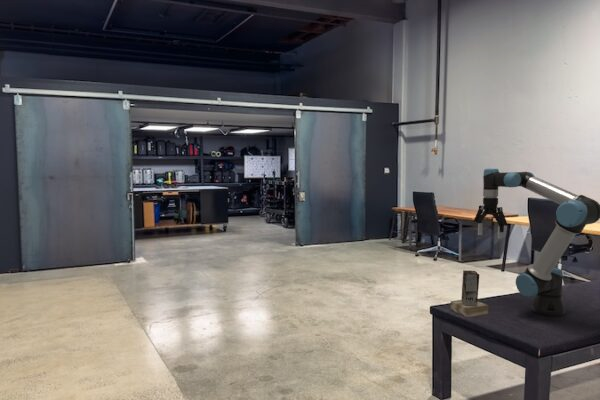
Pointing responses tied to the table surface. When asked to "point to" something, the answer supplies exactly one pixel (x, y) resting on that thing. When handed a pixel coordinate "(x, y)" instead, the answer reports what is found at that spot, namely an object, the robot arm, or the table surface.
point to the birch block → (469, 308)
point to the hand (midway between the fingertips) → (489, 236)
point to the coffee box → (470, 288)
